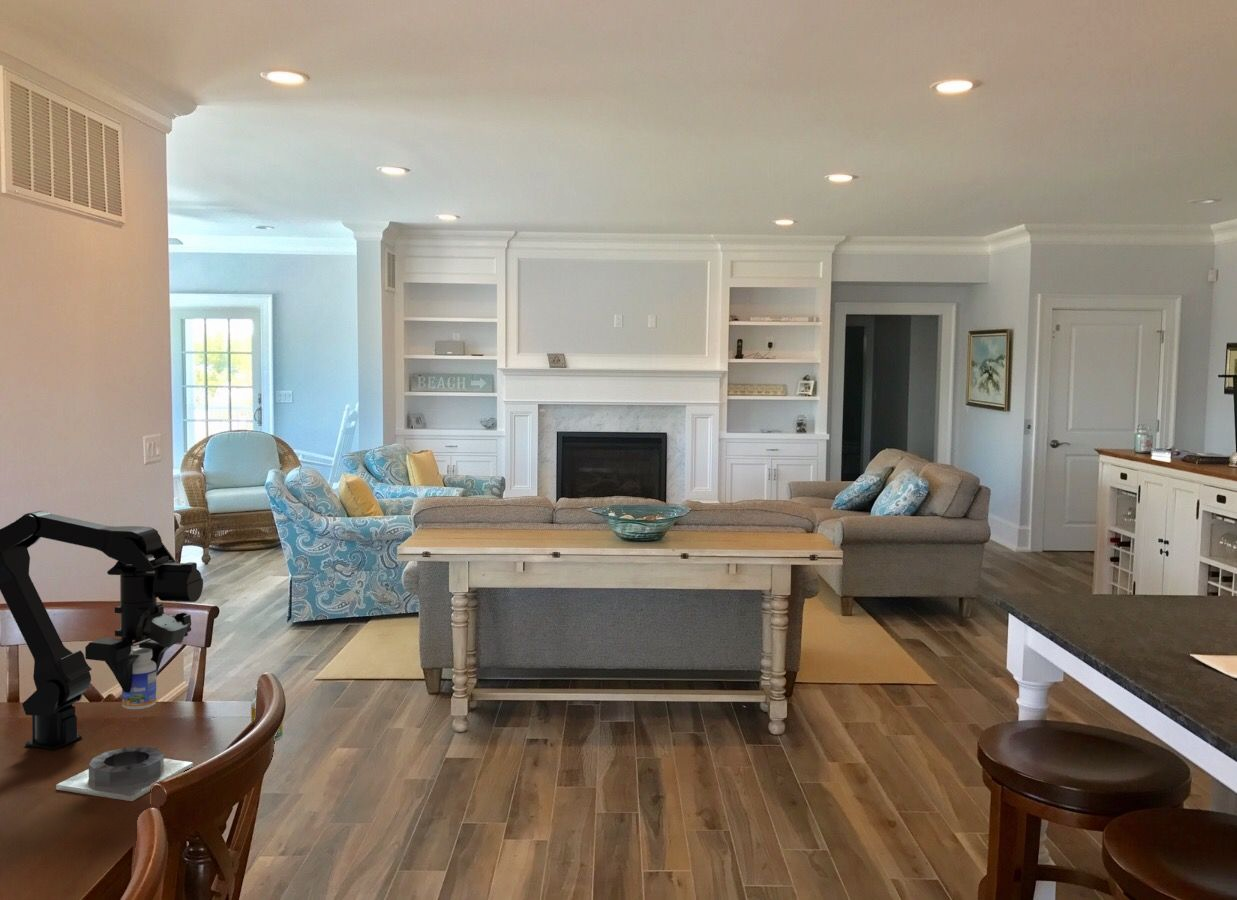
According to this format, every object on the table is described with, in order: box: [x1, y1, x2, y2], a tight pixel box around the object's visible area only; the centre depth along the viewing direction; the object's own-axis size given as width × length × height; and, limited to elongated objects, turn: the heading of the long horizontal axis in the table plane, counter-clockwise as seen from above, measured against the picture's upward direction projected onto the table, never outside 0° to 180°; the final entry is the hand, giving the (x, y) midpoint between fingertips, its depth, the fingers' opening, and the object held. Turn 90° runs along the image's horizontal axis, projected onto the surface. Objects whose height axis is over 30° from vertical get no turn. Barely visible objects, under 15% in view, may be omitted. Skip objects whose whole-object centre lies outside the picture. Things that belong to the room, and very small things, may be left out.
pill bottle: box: [121, 647, 157, 710], centre depth 169 cm, size 5×5×10 cm
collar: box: [55, 745, 194, 802], centre depth 156 cm, size 14×14×3 cm
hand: (139, 687), depth 169 cm, fingers closed on pill bottle, 5 cm apart
